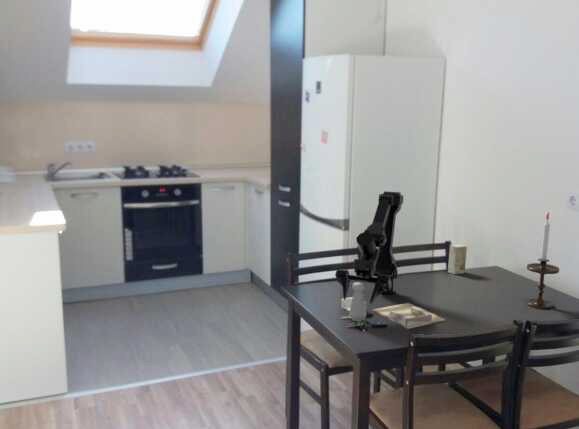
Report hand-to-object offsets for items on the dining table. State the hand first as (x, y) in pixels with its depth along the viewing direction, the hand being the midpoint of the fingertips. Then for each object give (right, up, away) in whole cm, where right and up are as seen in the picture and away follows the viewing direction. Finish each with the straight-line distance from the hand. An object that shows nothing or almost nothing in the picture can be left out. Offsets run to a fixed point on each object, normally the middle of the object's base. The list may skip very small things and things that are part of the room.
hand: (357, 301), depth 199 cm
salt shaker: (0, -7, +2) cm, 7 cm away
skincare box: (+50, +3, +61) cm, 79 cm away
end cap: (0, -5, +13) cm, 14 cm away
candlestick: (+69, -4, +20) cm, 72 cm away
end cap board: (+18, -6, +7) cm, 20 cm away
